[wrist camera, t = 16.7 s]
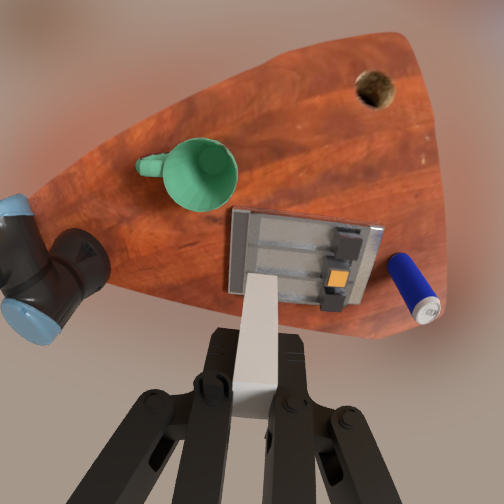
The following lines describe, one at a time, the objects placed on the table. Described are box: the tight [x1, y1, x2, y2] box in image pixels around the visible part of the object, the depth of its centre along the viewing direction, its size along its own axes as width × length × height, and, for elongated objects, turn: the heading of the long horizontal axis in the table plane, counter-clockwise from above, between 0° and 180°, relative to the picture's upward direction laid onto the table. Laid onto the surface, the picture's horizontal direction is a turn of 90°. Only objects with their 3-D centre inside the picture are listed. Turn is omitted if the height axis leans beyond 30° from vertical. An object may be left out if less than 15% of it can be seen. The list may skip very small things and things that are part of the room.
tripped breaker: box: [321, 255, 351, 288], centre depth 48 cm, size 4×4×4 cm
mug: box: [136, 138, 238, 212], centre depth 39 cm, size 15×10×10 cm
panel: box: [228, 206, 385, 312], centre depth 49 cm, size 26×17×6 cm, turn 85°
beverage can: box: [387, 253, 441, 324], centre depth 44 cm, size 5×5×15 cm
